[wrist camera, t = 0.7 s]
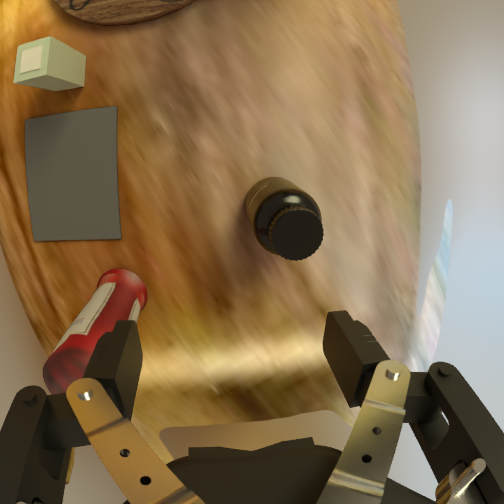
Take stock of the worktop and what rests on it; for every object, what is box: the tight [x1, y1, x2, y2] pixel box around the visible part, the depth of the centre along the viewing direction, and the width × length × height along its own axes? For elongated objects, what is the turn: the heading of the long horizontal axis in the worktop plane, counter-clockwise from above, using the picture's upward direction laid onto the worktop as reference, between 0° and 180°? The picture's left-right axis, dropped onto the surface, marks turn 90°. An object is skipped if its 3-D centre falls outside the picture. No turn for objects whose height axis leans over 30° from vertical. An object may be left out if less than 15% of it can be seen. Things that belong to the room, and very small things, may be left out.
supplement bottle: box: [245, 177, 324, 261], centre depth 33 cm, size 7×7×12 cm
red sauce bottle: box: [43, 269, 147, 484], centre depth 27 cm, size 7×7×28 cm
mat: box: [25, 106, 122, 241], centre depth 33 cm, size 16×13×1 cm
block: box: [14, 36, 86, 91], centre depth 24 cm, size 4×4×10 cm
